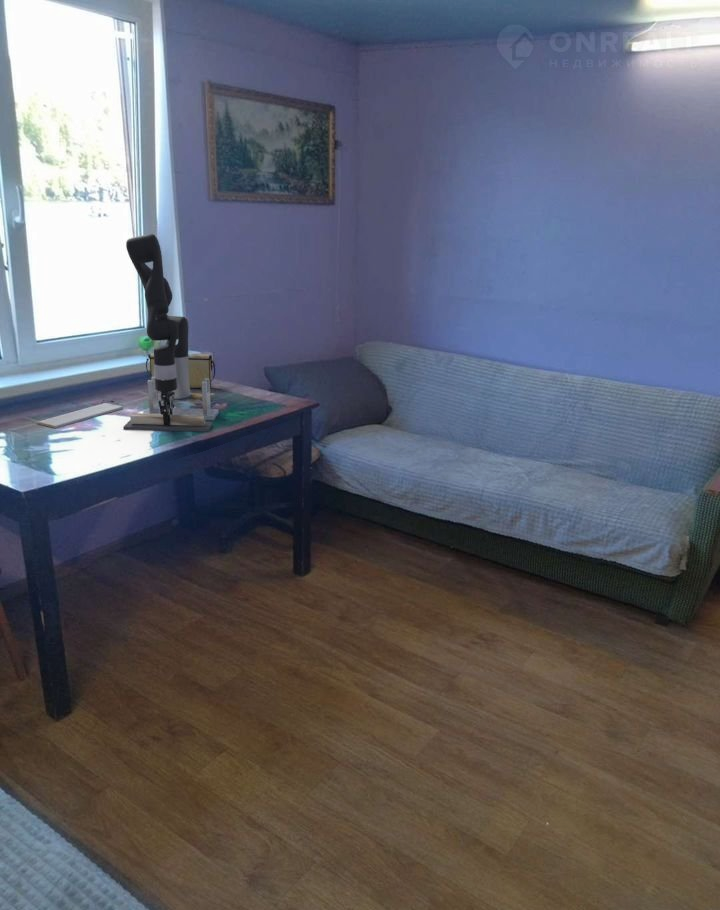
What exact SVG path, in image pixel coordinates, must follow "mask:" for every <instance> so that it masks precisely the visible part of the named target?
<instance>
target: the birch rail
mask: <svg viewBox="0 0 720 910" xmlns="http://www.w3.org/2000/svg"><path fill="white" fill-rule="evenodd" d="M130 420H131V424H156V425H164V422H163V415H161V414H144V413H143V412H141V413H137V412H136V413H135V412H134V413H133V412H132V413H131V414H130ZM205 422H206V420H205V415H177V414H170V425H190V426H204V425H205Z"/></svg>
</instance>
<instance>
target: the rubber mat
mask: <svg viewBox="0 0 720 910" xmlns="http://www.w3.org/2000/svg"><path fill="white" fill-rule="evenodd" d="M212 426H213V422H207V421H205V425H204V426H190V425H156V424H131V419H130V420H128V421H127V422H126V423H125V425H123V430H126V431H127V430H131V431H132V430H134V431H135V430H136V431H165V432H166V431H168V432H172V431H174V432H202V433H203V432H207V433H208V432H209V431H210V429H211V428H212Z"/></svg>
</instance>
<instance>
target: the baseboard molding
mask: <svg viewBox="0 0 720 910" xmlns="http://www.w3.org/2000/svg"><path fill="white" fill-rule="evenodd" d="M108 402H110V403H108ZM123 407H124V406H123V404H121V403H120V405H119V404H115V403H114V401H113V400H110V401H107V402H105V399H103V401H101V403H100V404H96V405H93V406H89V407H85V408H81V409H79V410H75V411H72V412H67V413H64V414H60V415H57V416H54V417H50V418H46V419H43V420H39V421H35V424H36V425H41V426H44V427H45V426H46V427H48V428H51V429H52V428H53V429H57V428H61V427H64V426H69V425H71V424H75V423H79V422H82V421H85V420H89V419H92V418H96V417H99V416H103V415H105V414H110V413H112V412H116V411H119V410H123Z"/></svg>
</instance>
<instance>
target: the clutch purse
mask: <svg viewBox="0 0 720 910" xmlns="http://www.w3.org/2000/svg"><path fill="white" fill-rule="evenodd" d="M188 357H189V376H190V389H195V388H196V389H197V388H198V389H199V388H200V389H202V382H205V381H204V379H205V378H208V379H209V380H210V389H212V382H213V381H214V379H215V376H216V365H215V364H216V363H215V362H214V361H215V359H213V357H212V354H188ZM148 361H149V370H148ZM145 368H146V369H145V370H146V371H147V374H149V376H150V379H151V378H152V377H154V353H148V354H147V358H146V362H145ZM149 371H150V373H149ZM212 371H213V375H212ZM212 376H213V377H212Z"/></svg>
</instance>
